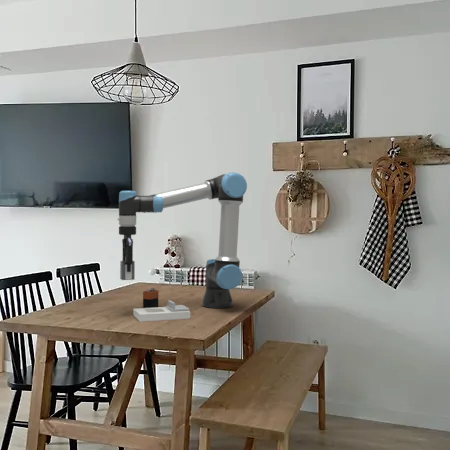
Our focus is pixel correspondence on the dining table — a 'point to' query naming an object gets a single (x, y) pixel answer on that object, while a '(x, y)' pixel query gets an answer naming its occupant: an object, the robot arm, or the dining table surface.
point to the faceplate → (159, 314)
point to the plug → (122, 270)
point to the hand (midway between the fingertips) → (127, 278)
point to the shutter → (175, 306)
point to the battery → (150, 298)
